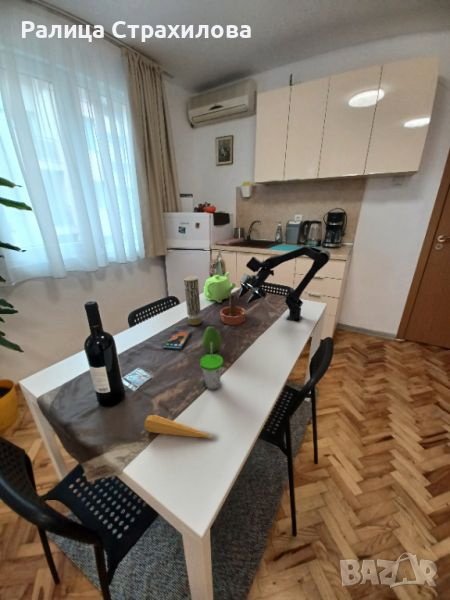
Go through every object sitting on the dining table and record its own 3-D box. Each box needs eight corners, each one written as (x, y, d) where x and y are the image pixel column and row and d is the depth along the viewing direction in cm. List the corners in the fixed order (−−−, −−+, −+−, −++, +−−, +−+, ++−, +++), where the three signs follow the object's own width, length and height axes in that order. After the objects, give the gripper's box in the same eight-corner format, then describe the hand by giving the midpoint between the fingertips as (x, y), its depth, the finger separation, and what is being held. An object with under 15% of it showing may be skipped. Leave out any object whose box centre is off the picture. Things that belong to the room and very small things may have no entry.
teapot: (226, 308, 142) (225, 283, 136) (198, 301, 153) (196, 278, 147) (246, 295, 161) (246, 272, 155) (220, 290, 173) (219, 268, 166)
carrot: (144, 432, 67) (140, 427, 64) (150, 416, 70) (147, 410, 67) (213, 449, 64) (212, 444, 61) (216, 431, 67) (216, 426, 64)
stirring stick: (232, 316, 131) (231, 292, 126) (238, 317, 128) (238, 293, 123) (227, 319, 128) (226, 294, 122) (234, 321, 125) (233, 296, 120)
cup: (215, 396, 78) (213, 358, 72) (197, 387, 82) (193, 351, 76) (228, 382, 84) (227, 346, 78) (210, 374, 88) (207, 339, 82)
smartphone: (162, 346, 104) (175, 329, 118) (163, 349, 105) (175, 331, 118) (180, 347, 103) (191, 329, 116) (180, 350, 103) (191, 332, 117)
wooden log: (186, 324, 125) (181, 279, 115) (192, 319, 130) (188, 275, 121) (197, 326, 122) (193, 280, 113) (203, 321, 128) (200, 276, 118)
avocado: (207, 358, 97) (205, 332, 92) (200, 348, 104) (198, 324, 99) (224, 353, 100) (223, 328, 96) (217, 344, 107) (216, 320, 102)
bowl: (229, 312, 137) (229, 304, 135) (249, 318, 130) (249, 309, 128) (215, 321, 127) (215, 313, 125) (236, 328, 120) (236, 319, 118)
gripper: (243, 264, 130) (225, 287, 130) (262, 272, 115) (242, 298, 114) (255, 276, 136) (238, 297, 136) (274, 285, 121) (255, 309, 121)
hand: (243, 300), depth 127 cm, fingers open, 9 cm apart
